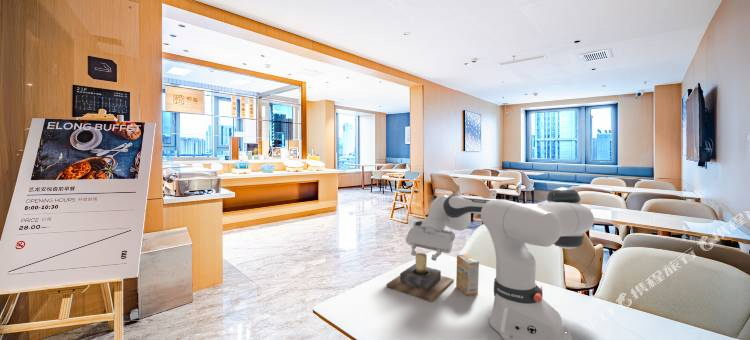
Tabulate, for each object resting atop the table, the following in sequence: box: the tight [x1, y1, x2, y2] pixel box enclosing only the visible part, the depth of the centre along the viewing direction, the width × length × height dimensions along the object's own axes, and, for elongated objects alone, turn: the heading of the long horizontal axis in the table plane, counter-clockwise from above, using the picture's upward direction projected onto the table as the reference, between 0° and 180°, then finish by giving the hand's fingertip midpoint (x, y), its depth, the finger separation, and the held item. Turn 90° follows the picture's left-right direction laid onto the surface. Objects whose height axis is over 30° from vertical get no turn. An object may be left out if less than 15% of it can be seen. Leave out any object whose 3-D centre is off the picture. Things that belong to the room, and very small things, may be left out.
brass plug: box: [415, 252, 428, 275], centre depth 123 cm, size 4×4×11 cm
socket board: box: [385, 263, 454, 303], centre depth 124 cm, size 20×20×5 cm
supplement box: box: [455, 253, 480, 296], centre depth 118 cm, size 8×5×13 cm, turn 17°
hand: (422, 257), depth 125 cm, fingers open, 8 cm apart
